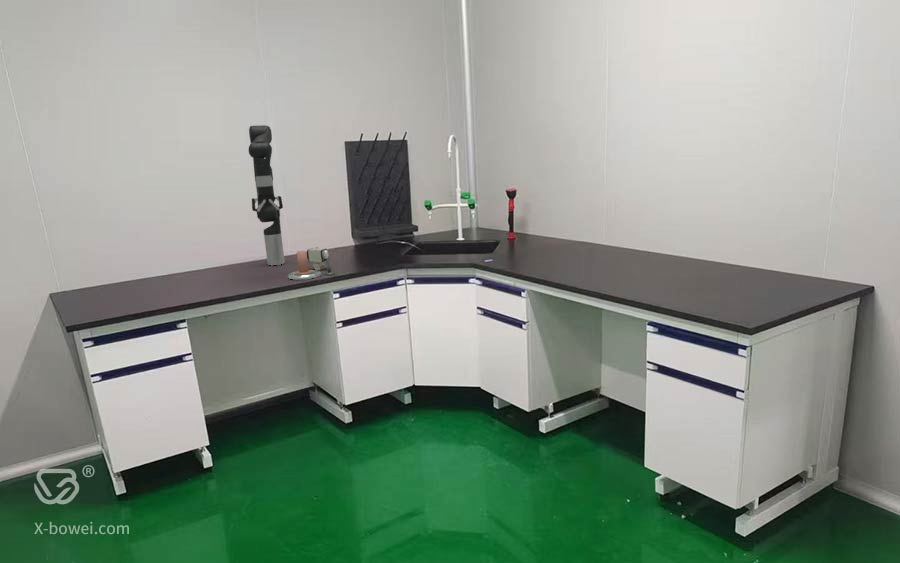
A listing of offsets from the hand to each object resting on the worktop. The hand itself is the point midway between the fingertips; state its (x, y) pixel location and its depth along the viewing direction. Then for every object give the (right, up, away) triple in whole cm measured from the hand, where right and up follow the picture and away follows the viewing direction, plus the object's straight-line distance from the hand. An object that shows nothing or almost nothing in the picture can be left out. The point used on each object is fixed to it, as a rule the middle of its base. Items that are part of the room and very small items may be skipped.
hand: (269, 218), depth 282 cm
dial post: (+28, -27, +10) cm, 40 cm away
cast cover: (+15, -27, +7) cm, 32 cm away
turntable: (+16, -28, +7) cm, 33 cm away
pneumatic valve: (+20, -25, +22) cm, 39 cm away
